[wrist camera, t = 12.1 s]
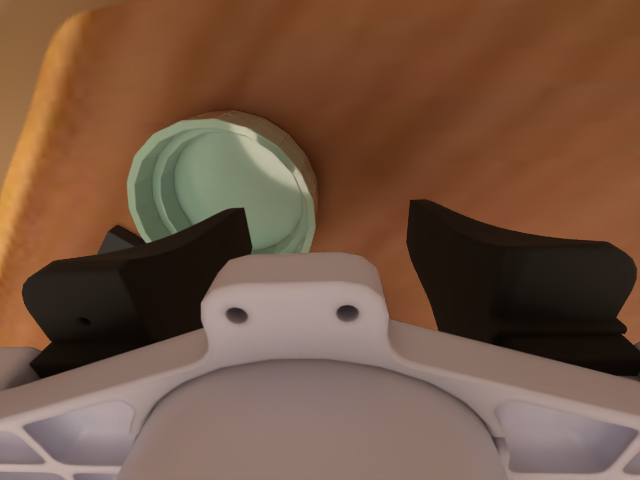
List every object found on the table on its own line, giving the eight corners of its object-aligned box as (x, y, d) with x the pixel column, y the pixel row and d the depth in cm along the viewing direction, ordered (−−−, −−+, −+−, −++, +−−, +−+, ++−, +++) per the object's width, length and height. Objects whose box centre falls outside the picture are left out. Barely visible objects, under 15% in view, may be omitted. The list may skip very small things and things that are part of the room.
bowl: (322, 255, 26) (320, 289, 22) (188, 260, 26) (163, 292, 22) (311, 104, 20) (306, 112, 16) (139, 115, 20) (93, 126, 16)
